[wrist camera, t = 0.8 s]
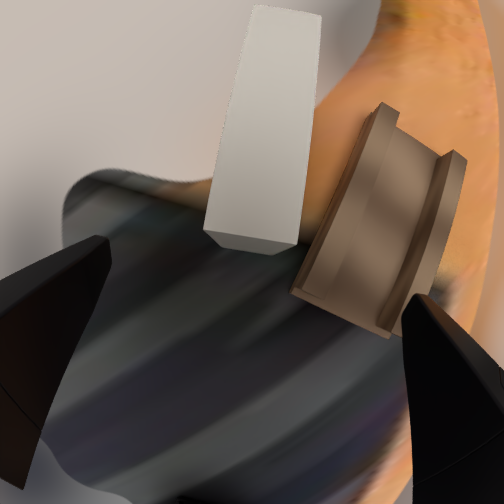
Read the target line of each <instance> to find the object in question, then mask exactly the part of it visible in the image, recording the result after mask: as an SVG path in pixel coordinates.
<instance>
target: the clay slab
mask: <svg viewBox="0 0 504 504" xmlns="http://www.w3.org/2000/svg"><path fill="white" fill-rule="evenodd" d="M321 20H322V16H320V15H315V14H311V13H306V12H300V11H295V10H290V9H284V8H277V7H270V6H263V5H254V7H253V11H252V15H251V18H250V22H249V25H248V29H247V33H246V36H245V40H244V44H243V48H242V52H241V56H240V60H239V63H238V68H237V71H236V76H235V80H234V84H233V88H232V92H231V96H230V101H229V105H228V109H227V114H226V118H225V123H224V127H223V132H222V136H221V141H220V145H219V150H218V155H217V160H216V165H215V170H214V175H213V180H212V185H211V190H210V195H209V200H208V206H207V211H206V216H205V222H204V228H203V230H204V231H205V232H206V233H207V234H208V235H210V236H211V237H212V238H213V239H214V240H215V241H216V242H217V243H218V244H219V245H220V246H221V247H223V248H229V249H235V250H242V251H248V252H254V253H260V254H266V255H275V254H277V253H279V252H282V251H284V250H286V249H288V248H291V247H293V246H295V245H297V241H298V234H299V227H300V220H301V213H302V205H303V198H304V190H305V183H306V175H307V167H308V159H309V150H310V142H311V133H312V123H313V114H314V104H315V94H316V83H317V72H318V60H319V48H320V34H321Z"/></svg>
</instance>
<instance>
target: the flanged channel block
mask: <svg viewBox="0 0 504 504" xmlns="http://www.w3.org/2000/svg"><path fill="white" fill-rule="evenodd" d="M399 114H400V112H398V111H396V110H395V109H393V108H392V107H390V106H388V105H387V104H385V103H383V102H381V103H380V104H379V106H378V107H377V108H376V109H375V111H374V112H373V113H372V112H371V113H370V114H369V116H368V117H367V118H366V120H365V122H364V125H363V127H362V130H361V132H360V135H359V137H358V140H357V142H356V145H355V147H354V149H353V152H352V154H351V157H350V159H349V161H348V164H347V166H346V168H345V171H344V173H343V175H342V178H341V180H340V182H339V185H338V187H337V189H336V191H335V194H334V196H333V198H332V201H331V203H330V205H329V207H328V209H327V212H326V214H325V216H324V218H323V221H322V223H321V225H320V227H319V229H318V232H317V234H316V236H315V238H314V240H313V242H312V244H311V247H310V249H309V251H308V253H307V255H306V257H305V259H304V261H303V264H302V266H301V268H300V270H299V272H298V274H297V276H296V278H295V280H294V282H293V284H292V286H291V288H290V291H289V293H291V294H293V295H295V296H297V297H299V298H301V299H303V300H305V301H307V302H309V303H311V304H314V305H316V306H318V307H320V308H322V309H324V310H326V311H328V312H330V313H332V314H335V315H337V316H339V317H341V318H343V319H345V320H347V321H349V322H352V323H354V324H356V325H358V326H360V327H362V328H364V329H367V330H369V331H371V332H373V333H375V334H377V335H379V336H382V337H384V338H386V339H388V340H389V338H390V336H391V334H394V335H397V336H399V337H401V338H402V328H401V315H402V312H403V311H404V309H405V307H406V306H407V304H408V302H409V300H410V299H411V297H412V296H413V295H414V294H415V293H420V294H426V295H427V296H428V293H429V291H430V288H431V286H432V283H433V280H434V278H435V275H436V272H437V269H438V267H439V264H440V261H441V258H442V255H443V252H444V249H445V246H446V243H447V239H448V236H449V233H450V230H451V226H452V223H453V219H454V216H455V212H456V208H457V204H458V201H459V197H460V192H461V188H462V184H463V179H464V175H465V170H466V165H467V160H466V159H465V158H464V157H463V156H461V155H460V154H459V153H458V152H456V151H455V150H454V149H453V150H452V151H450V152H448V153H447V154H445V155H443V156H439V155H438V154H436V153H435V152H434V151H432V150H431V149H429V148H428V147H426V146H425V145H424V144H422V143H421V142H419V141H418V140H416V139H415V138H413V137H412V136H410V135H408V134H407V133H405V132H404V131H402V130H401V129H399V128H397V127H396V123H397V120H398V117H399Z"/></svg>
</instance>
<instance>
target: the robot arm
mask: <svg viewBox="0 0 504 504" xmlns="http://www.w3.org/2000/svg"><path fill="white" fill-rule="evenodd" d="M111 265H112V258H111V250H110V242H109V239H108V238H107V237H105V236H100V235H94V236H91V237H89V238H87V239H85V240H82V241H80V242H78V243H76V244H73V245H71V246H69V247H67V248H65V249H63V250H60V251H58V252H56V253H54V254H52V255H50V256H48V257H46V258H43V259H41V260H39V261H37V262H35V263H33V264H31V265H29V266H27V267H25V268H23V269H21V270H19V271H17V272H15V273H13V274H11V275H9V276H7V277H5V278H4V279H2V280H0V478H1V479H2V480H4V481H6V482H8V483H10V484H12V485H13V486H15V487H17V488H19V489H21V490H23V489H24V486H25V483H26V479H27V476H28V472H29V469H30V465H31V462H32V459H33V456H34V453H35V450H36V447H37V444H38V441H39V438H40V435H41V432H42V431H41V430H42V429H43V426H44V423H45V420H46V418H47V415H48V412H49V410H50V407H51V405H52V402H53V399H54V397H55V394H56V392H57V390H58V387H59V385H60V382H61V380H62V378H63V375H64V373H65V371H66V368H67V366H68V364H69V362H70V359H71V357H72V355H73V353H74V351H75V348H76V346H77V344H78V342H79V340H80V338H81V336H82V334H83V331H84V329H85V327H86V325H87V323H88V321H89V319H90V317H91V315H92V313H93V311H94V309H95V306H96V304H97V301H98V299H99V296H100V293H101V291H102V288H103V286H104V283H105V281H106V278H107V276H108V274H109V271H110V269H111ZM401 328H402V343H403V361H404V370H405V378H406V386H407V394H408V404H409V414H410V426H411V441H412V464H413V502H412V504H504V370H503V369H502V368H501V367H499V365H498V364H497V363H496V362H495V361H494V360H493V359H492V358H491V357H490V356H489V355H488V354H487V353H486V351H485V350H484V349H483V348H482V347H481V346H480V345H479V344H478V343H477V342H476V341H475V340H474V339H473V338H472V337H471V336H470V335H469V334H468V333H467V332H466V331H465V330H464V329H463V328H462V327H461V326H460V325H458V324H457V323H456V322H455V321H454V320H453V319H452V318H451V317H450V316H449V315H448V314H447V313H446V312H445V311H444V310H443V309H442V308H441V307H440V306H438V305H437V304H436V303H435V302H434V301H433V300H432V299H431V298H430V297H429V296H427V295H426V294H420V293H415V294H414V295H413V296H412V297H411V299H410V300H409V302H408V304H407V306H406V307H405V309H404V311H403V312H402V315H401ZM181 501H183V502H181ZM175 504H208V503H204V502H200V501H196V500H193V499H189V498H185V497H177V499H176V502H175Z"/></svg>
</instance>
